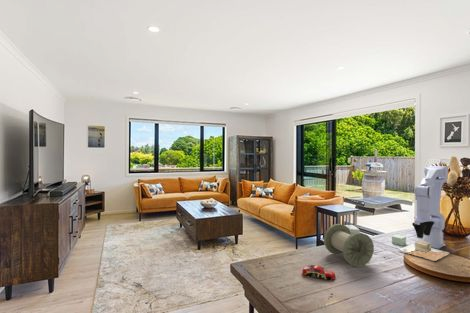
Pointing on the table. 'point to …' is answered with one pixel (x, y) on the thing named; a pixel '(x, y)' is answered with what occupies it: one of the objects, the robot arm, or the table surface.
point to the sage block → (399, 240)
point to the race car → (318, 272)
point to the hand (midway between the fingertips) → (423, 236)
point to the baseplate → (412, 248)
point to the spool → (349, 244)
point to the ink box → (352, 229)
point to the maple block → (422, 246)
